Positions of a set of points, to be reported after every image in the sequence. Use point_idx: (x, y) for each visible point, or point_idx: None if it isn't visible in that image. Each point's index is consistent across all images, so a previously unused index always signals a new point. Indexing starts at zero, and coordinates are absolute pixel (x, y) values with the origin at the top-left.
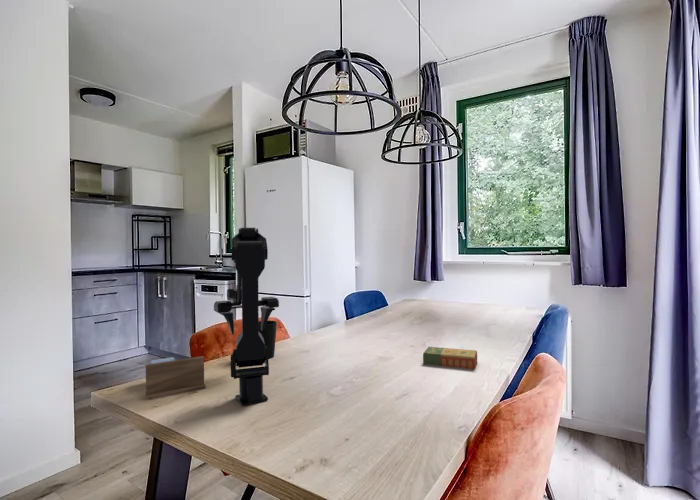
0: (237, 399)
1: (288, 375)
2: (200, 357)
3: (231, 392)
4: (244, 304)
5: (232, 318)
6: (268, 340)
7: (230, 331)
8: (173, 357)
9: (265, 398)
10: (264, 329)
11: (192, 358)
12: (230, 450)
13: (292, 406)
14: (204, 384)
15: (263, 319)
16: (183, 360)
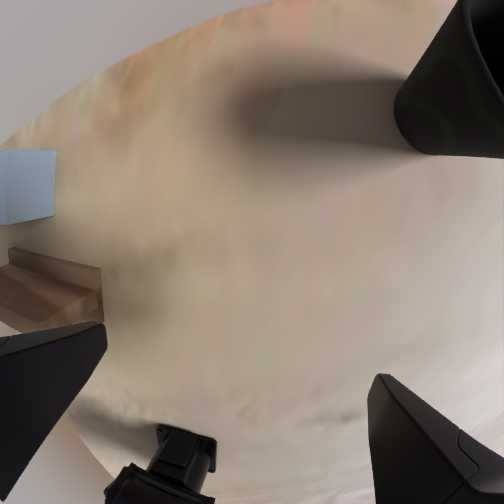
0: (158, 438)
1: (356, 397)
2: None
3: (157, 394)
4: None
5: (22, 462)
6: (472, 152)
7: (77, 326)
8: (7, 152)
9: (209, 471)
10: (498, 137)
11: (18, 324)
12: None
13: (242, 497)
14: (97, 315)
15: (384, 499)
16: (4, 322)
